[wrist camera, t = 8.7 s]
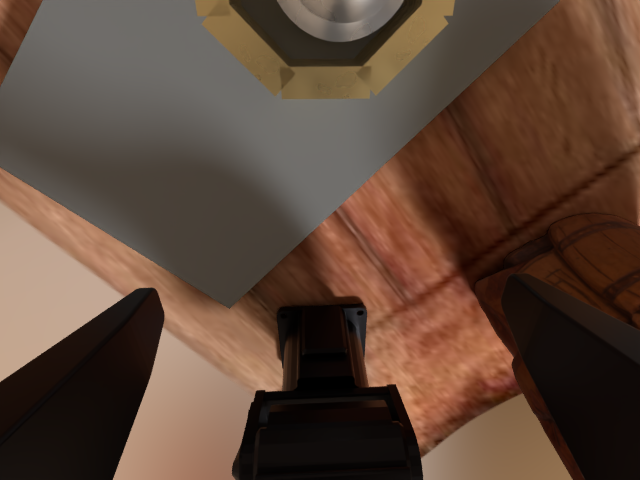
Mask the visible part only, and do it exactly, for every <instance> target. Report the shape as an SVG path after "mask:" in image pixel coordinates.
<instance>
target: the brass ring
mask: <svg viewBox="0 0 640 480" xmlns="http://www.w3.org/2000/svg"><path fill="white" fill-rule="evenodd" d="M454 3H455V0H404V2H403V7H402V8H401V9H400V10H399V11H398V12H397V13H396V14H395V15H394V16H393V17H392V19H391V20H390V21H389V22H388V23H387V24H386V25H385V26H384V27H383V28H382V29H381V30H380V31H379V32H378V34H377V35H376V36H375V37H374V38H373V39H372V40H371V41H370V42H369V43H368V44H367V45H366V46H365V47H364V48H363V50H362V51H361V52H360V53H359V54H358V55H357V56H356V57H355V58H354V59H291V58H290V57H289V56H288V55H287V54H286V53H285V52H284V51H283V50H282V49H281V48H280V47H279V46H278V44H277V43H276V42H275V41H274V40H273V39H272V38H271V37H270V36H269V35H268V34H267V33H266V32H265V31H264V30H263V29H262V28H261V27H260V25H259V24H258V23H257V22H256V21H255V20H254V19H253V18H252V17H251V16H250V15H249V14H248V13H247V12H246V11H245V10H244V9H243V7H242V6H241V0H195V4H196V10H197V16H207V17H206V19H205V20H204V21H203V23H202V25H203V26H204V27H205V28H206V29H207V30H208V31H209V32H210V33H211V34H212V35H213V36H214V37H215V38H216V39H217V40H218V41H219V42H220V43H221V44H222V45H223V46H224V47H225V48H226V49H227V50H228V51H229V52H230V53H231V54H232V55H233V56H234V57H235V58H236V59H237V60H238V61H239V62H241V63H242V64H243V65H244V66H245V67H246V68H247V69H248V70H249V71H250V72H251V73H252V74H253V75H254V76H255V77H256V78H257V79H258V80H259V81H260V82H261V83H262V84H263V85H264V86H265V87H266V88H267V89H268V90H269V91H270V92H271V93H272V94H273V95H274V96H275V97H276V95H277V94H278V93H279V92H280V91H281V95H282V99H370V90H371V91H372V92H373V93H374V94H375V95H377V94H378V93H379V92H380V91H381V90H382V89H383V88H384V87H385V86H386V85H387V84H388V83H389V82H390V81H391V80H392V79H393V78H394V77H395V76H396V75H397V74H398V73H399V72H400V71H401V70H402V69H403V68H404V67H405V66H406V65H407V64H408V63H409V62H410V61H411V60H412V59H413V58H414V57H415V56H416V55H417V54H418V53H419V52H420V51H421V50H422V49H423V48H424V47H425V46H426V45H427V44H428V43H429V42H430V41H431V40H432V39H433V38H434V37H435V36H436V35H437V34H438V33H439V32H440V31H441V30H442V29H444V28H445V27H446V26H447V25H448V24H449V23H448V22H447V20H446V19H445V18H444V16H453V10H454Z"/></svg>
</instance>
